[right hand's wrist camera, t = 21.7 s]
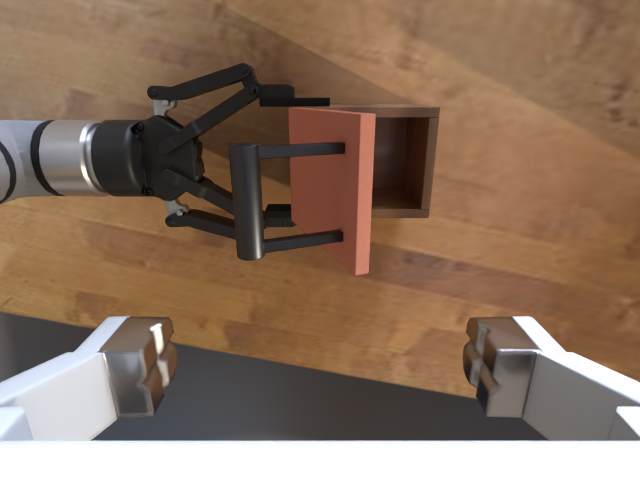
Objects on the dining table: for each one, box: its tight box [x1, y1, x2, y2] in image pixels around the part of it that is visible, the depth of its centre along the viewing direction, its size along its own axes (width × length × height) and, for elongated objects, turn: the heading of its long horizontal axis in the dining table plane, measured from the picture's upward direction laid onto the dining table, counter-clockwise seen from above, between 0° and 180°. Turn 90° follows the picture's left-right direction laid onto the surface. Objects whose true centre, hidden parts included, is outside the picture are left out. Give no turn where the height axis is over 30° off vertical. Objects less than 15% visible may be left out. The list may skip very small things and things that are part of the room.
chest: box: [296, 104, 440, 218], centre depth 41 cm, size 13×10×10 cm
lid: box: [229, 107, 376, 276], centre depth 29 cm, size 13×10×8 cm
